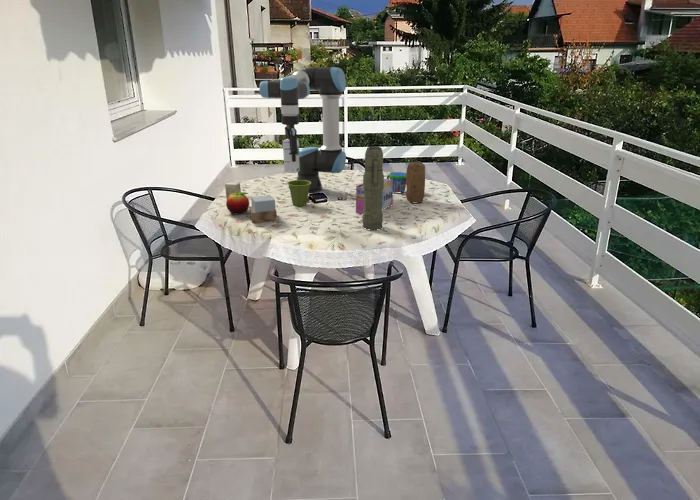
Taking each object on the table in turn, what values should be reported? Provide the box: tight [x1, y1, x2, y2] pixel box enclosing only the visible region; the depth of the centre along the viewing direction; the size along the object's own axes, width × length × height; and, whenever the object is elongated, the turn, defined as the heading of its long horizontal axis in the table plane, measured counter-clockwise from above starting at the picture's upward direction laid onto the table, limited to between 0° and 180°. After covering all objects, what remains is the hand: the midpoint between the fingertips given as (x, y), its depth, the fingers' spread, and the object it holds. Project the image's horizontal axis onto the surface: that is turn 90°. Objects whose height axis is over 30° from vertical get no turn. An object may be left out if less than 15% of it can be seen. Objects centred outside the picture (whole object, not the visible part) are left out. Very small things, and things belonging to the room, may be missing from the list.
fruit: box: [225, 191, 250, 215], centre depth 247 cm, size 11×11×10 cm
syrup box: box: [282, 138, 300, 174], centre depth 234 cm, size 6×6×14 cm
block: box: [405, 161, 426, 203], centre depth 267 cm, size 11×8×20 cm
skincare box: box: [224, 181, 242, 200], centre depth 255 cm, size 6×4×12 cm
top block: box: [250, 194, 276, 213], centre depth 238 cm, size 9×9×5 cm
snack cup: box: [386, 171, 407, 193], centre depth 286 cm, size 16×10×10 cm
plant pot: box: [286, 179, 311, 207], centre depth 261 cm, size 12×12×11 cm
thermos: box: [361, 145, 385, 231], centre depth 223 cm, size 9×12×35 cm
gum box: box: [355, 178, 394, 215], centre depth 254 cm, size 24×8×14 cm, turn 146°
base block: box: [248, 205, 278, 224], centre depth 240 cm, size 11×11×5 cm
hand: (291, 166), depth 236 cm, fingers closed on syrup box, 7 cm apart
